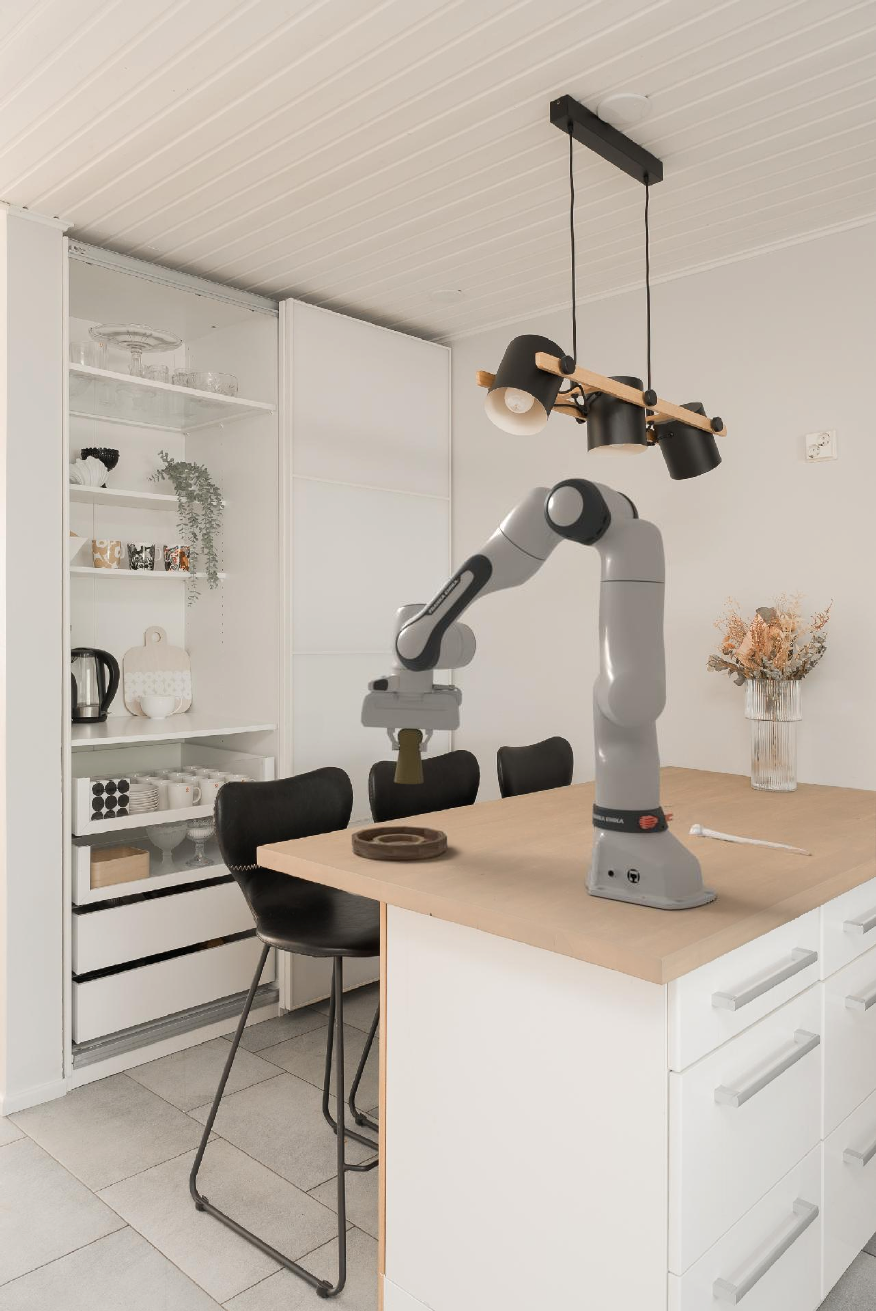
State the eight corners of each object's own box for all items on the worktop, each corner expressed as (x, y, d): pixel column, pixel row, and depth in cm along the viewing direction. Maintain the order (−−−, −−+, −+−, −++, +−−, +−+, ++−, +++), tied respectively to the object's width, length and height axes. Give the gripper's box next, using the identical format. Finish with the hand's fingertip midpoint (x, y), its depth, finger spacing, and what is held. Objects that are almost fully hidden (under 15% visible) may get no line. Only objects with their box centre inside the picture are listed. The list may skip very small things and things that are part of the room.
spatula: (817, 855, 191) (817, 841, 191) (807, 858, 188) (808, 844, 188) (696, 834, 211) (697, 821, 211) (686, 836, 209) (686, 824, 209)
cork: (419, 784, 189) (420, 730, 188) (390, 782, 190) (392, 728, 190) (426, 780, 194) (428, 727, 194) (398, 778, 196) (400, 726, 196)
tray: (464, 851, 191) (464, 836, 191) (390, 865, 179) (390, 849, 179) (406, 836, 205) (406, 823, 205) (334, 848, 193) (334, 834, 193)
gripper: (463, 684, 194) (461, 751, 194) (365, 681, 196) (363, 747, 196) (461, 685, 188) (459, 754, 188) (360, 682, 190) (358, 750, 190)
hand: (409, 750), depth 192 cm, fingers closed on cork, 4 cm apart
